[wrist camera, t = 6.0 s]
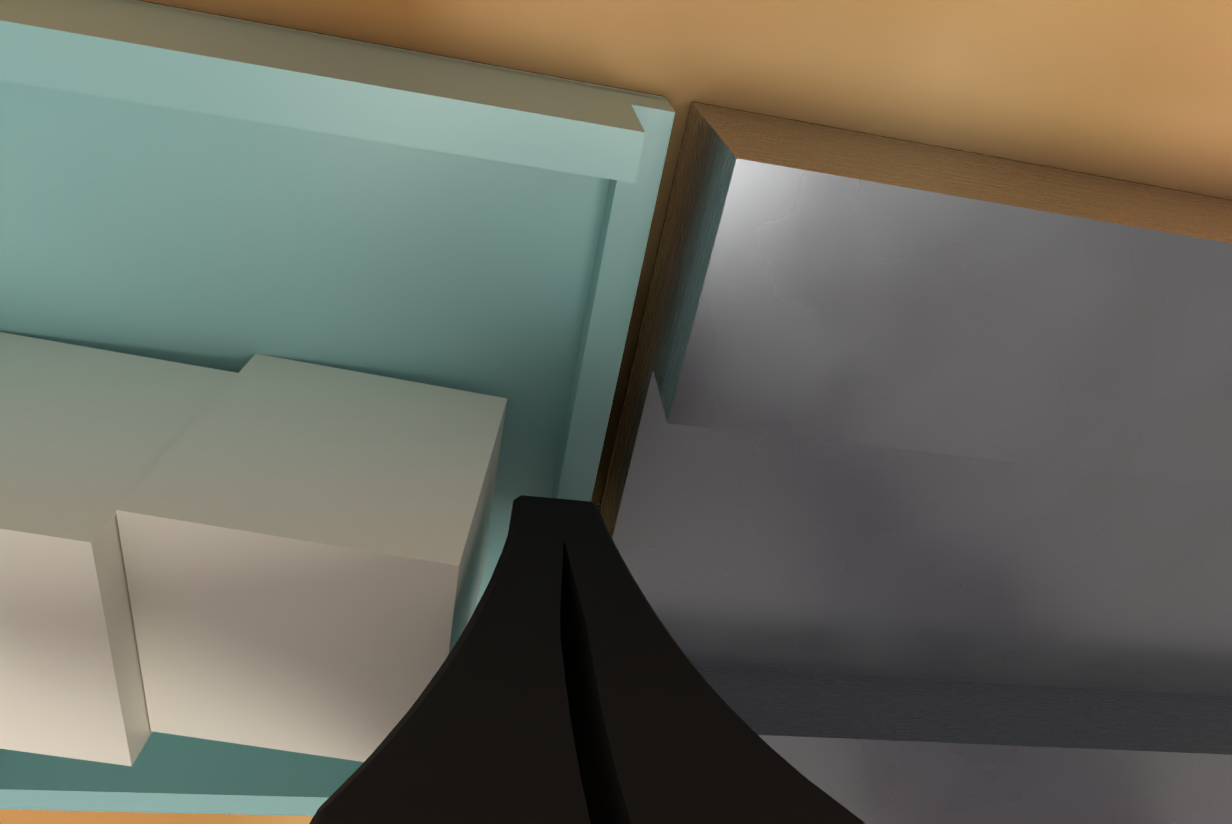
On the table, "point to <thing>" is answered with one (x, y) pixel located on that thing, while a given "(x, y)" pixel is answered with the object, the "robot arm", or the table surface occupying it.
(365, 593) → the cream cube block
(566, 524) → the robot arm
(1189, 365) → the slotted plate
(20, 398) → the beige cube
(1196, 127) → the table surface
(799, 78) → the table surface
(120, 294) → the tray
